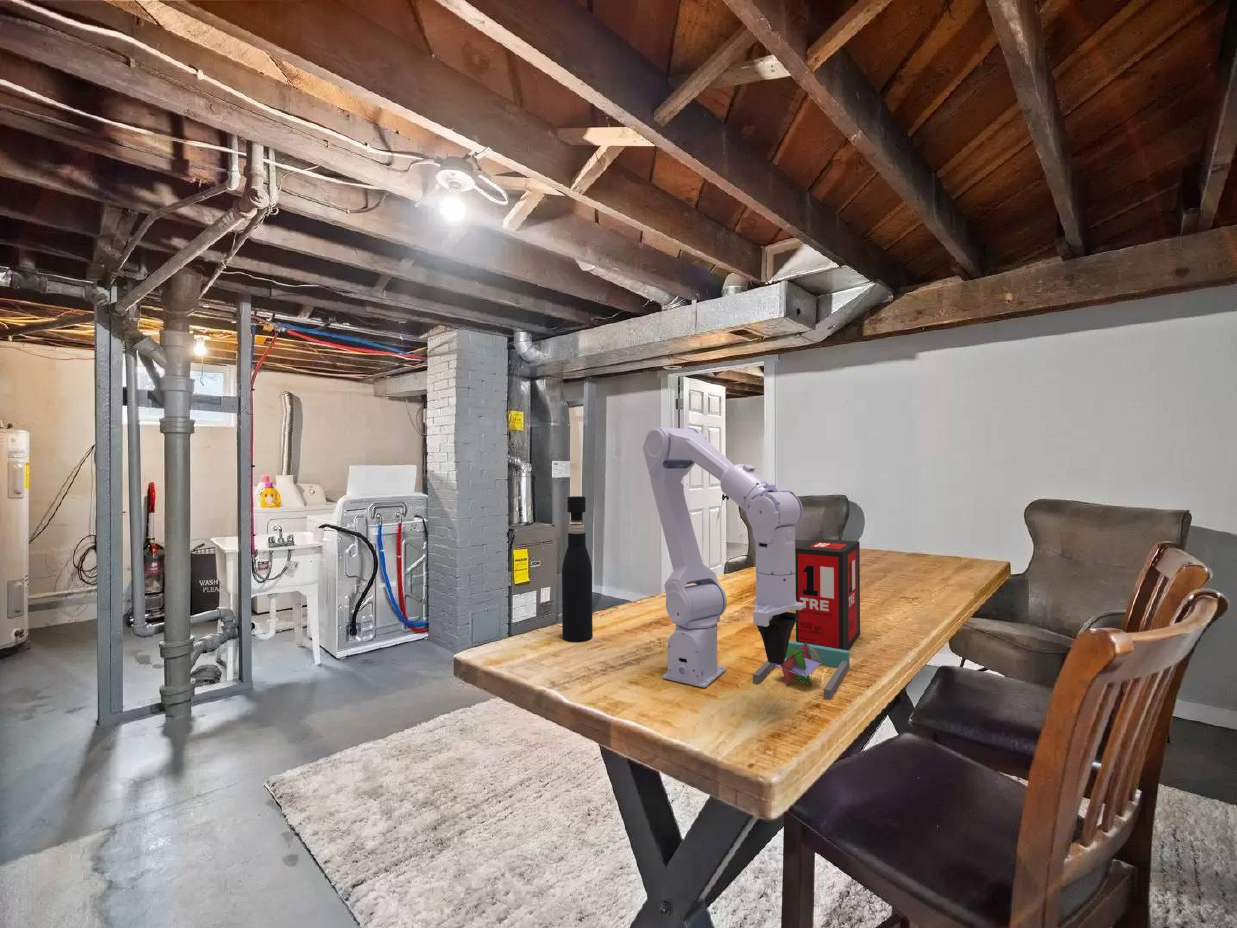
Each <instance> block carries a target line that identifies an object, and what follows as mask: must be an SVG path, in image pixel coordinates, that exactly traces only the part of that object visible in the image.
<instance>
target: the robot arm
mask: <svg viewBox="0 0 1237 928" xmlns="http://www.w3.org/2000/svg"><path fill="white" fill-rule="evenodd" d="M642 450H643V454H644V459H645V463H646V465H647V467H646V468H647V470H648V475H649V478H650V484H651V489H652V491H653V497H654V499H655V503H656V507H657V511H658V516H659V521H660V522H661V526H662V527H661V528H662V531H663V534H664V539H665V543H666V546H667V550H668V555H669V558H670V562H671V567H672V570H673V572H672V573H671V574H670V576H669V577H668V578H667V579H666V581H665V582H664V589H665V610H666V612H667V614H668V617H669V618H670V619H671V621H672V624H674V625H675V629H674V632H673V633H672V634H671V635H670V636H669V638H668V640H667V645H666V646H667V649H666V650H667V655H666V656H667V672H665V673H664V674H662V678H663V679H665V680H670V681H674V682H678V683H681V684H687V685H690V686H696V687H700V688H706V687H708V686H709V685H710V684H711V683H712V682H714V681H715V680H716V679H717V678H719V677H720V676H721V675H722V674H723V673H724V672H725V671H726V670H727V667H726V666H721V665H718V623H720V622H721V616H723V614H724V613H725V611H726V609H727V604H728V599H727V595H726V592H725V590H724V588H723V586H722V585H721V584H720V582H719V580H718V577H717V573H716V572H715V571H714V570H712V569H710V568H709V567H708V566H707V565H705V564H704V562H703V559H702V556H701V551H700V548H699V545H698V540H697V537H696V534H695V531H694V527H693V522H692V519H691V515H690V511H689V508H688V504H687V500H686V497H685V494H684V490H683V487H682V480H683V478H684V477H686V475H687V476H688V474H689V472H690V471H691V470H692V468H693V467H694V466H695V465H697V466H698V467H700V468H702V469H703V470H705V471H706V473H707V472H708V473H709V474H710V475H711V476H713V477H714V478H716V479H717V480H718V481H719V482H720V490H721V492H722V493H723V494H725V496H727V497H728V498H729V499H730V500H732V501H733V502H734V504H736V505H737V506H739V508H741V509H742V510H743V511H745V513H746V519H747V520H748V523H749V525H750V527H751V528H752V529H751V530H752V538H753V539H754V542H755V599H754V610H753V612H752V615H753V617H752V621H753V622H752V623H753V626H756V627H757V629H758V632H759V634H760V636H761V638H762V642H763V646H764V651H765V654H766V659H767V660H768V662H769V663H774V664H780V665H782V664H783V663H784V661H785V658H786V654H787V648H788V643H789V641H790V638H791V636H792V631H793V629H794V626H796V621H797V619H798V614H797V613H796V612H793V611H794V610H795V611H796V610H802V609H803V608H804V603H801V602H797V601H796V583H795V548H796V527H797V526H798V525H799V524H800V523H801V521H802V519H803V514H804V508H803V503H802V502H801V499H800V498H799V497H798V496H797V495H796V494H795V492H794V491H792V490H789V489H784V490H783V489H782V490H779V489H778V488H777V487H776V486H777V485H776V484H775V483H774V482H772V481H768V480H766V479H765V478H764V477H762V476H761V475H759V474H758V473H757V472H755V470H756V467H755V466H753V464H743V463H738V464H733V462H731V460H729V459H728V458H727V457H726V456H725V455H724V454H723V453H721V451H720V450H718V449H717V448H716V447H715V446H714V445H713V444H712V443H710V442H709V440H708V439H707V435H706V434H704V433H702V432H701V431H699V430H698V429H697V428H694V427H688V428H679V427H676V428H675V427H661V426H654V427H652V428H650V430H648V432H647V435H646V437H645V440H644V443H643V446H642ZM690 584H692V585H690ZM686 585H687V586H686Z"/></svg>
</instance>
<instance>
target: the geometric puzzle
mask: <svg viewBox="0 0 1237 928" xmlns="http://www.w3.org/2000/svg"><path fill="white" fill-rule="evenodd" d="M802 645H803V644H802ZM807 645H808V644H807V643H804V645H803V646H802V647H801V648H800V649H796V648H797V647H796V648H794V647H791V646H788V648H787V654H786V658H785V661H784V663H783V664H782V665H780V664H773V665H774V667H775V666H776V667H775V669H776V671H777V672H778V674H779V676H780V677H782V676H781V674H780V673H779V671H778V670H777V669H779V670H780V671H782V673H783V674H782V675H783V677H784V680H785V681H784V682H785V684H786V687H790V686H792V685H794V684H796V683H798V682H802V681H803V682H802V683H804V682H805V684H806V685H802V684H801V687H802V686H808V685H809V684H810V685H809V686H811V685H812V686H813V684H814V682H812V680H811V678H810V677H811V676H810V674H813V672H814V671H815V670H816V669H817V668H818V667H820V666H821V665H820V664H822V663H821V662H820V659H819V656H818V653H817V651H816V650H814V649H813V648H812V647H811V646H809V645H808V647H809V649H810V651H811V656H810V655H809V651H808V648H807ZM800 646H801V645H800ZM798 647H799V646H798ZM810 657H811V658H810ZM811 659H812V660H811ZM819 670H820V668H818V671H819ZM816 677H817V675H815V677H814V678H816ZM794 680H797V681H794ZM800 680H801V681H800ZM793 681H794V682H793ZM807 683H808V684H807Z"/></svg>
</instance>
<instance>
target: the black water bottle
mask: <svg viewBox="0 0 1237 928" xmlns="http://www.w3.org/2000/svg"><path fill="white" fill-rule="evenodd" d="M586 498H587V497H586V496H579V495H577V496H576V495H575V496H567V502H566V504H567V507H566V508H567V509H566V510H567V513H569V514H570V524H569V526H568V528H569V530H568V531H569V532H567V547H566V548H567V549H566V551H565V554H564V557H563V561H562V567H561V611H562V612H561V614H562V615H561V620H562V621H561V624H562V625H561V626H562V627H561V629H562V631H561V632H562V640H564V641H565V642H570V643H583V642H588V641H590V640H592V639H593V566H592V561H591V557H590V555H589V551H588V548H587V546H586V544H587V541H586V539H587V537H586V532H585V524H584V523H583V522H584V520H583V513H586V509H587V508H586Z"/></svg>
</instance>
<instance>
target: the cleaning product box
mask: <svg viewBox="0 0 1237 928" xmlns="http://www.w3.org/2000/svg"><path fill="white" fill-rule="evenodd" d="M860 543H861V542H860V541H856V540H844V539H843V540H842V539H828V538H815V539H813V540H810V541H808V542H807V543H804V544H802V545H800V546H798V547H795V592H796V601H797V602H801V603H804V608H803V609H802V610H795V613H797V614H798V619H797V621H796V623H795V642H800V643H807V644H812V645H818V646H824V647H830V648H836V649H842V650H848V651H850V650H851V648H852V647H853V645H854V644H855V643H856V642H857V640H858V638H859V637H860V636H861V573H860V571H861V569H860V567H861V565H860V559H861V558H860V553H861V551H860V550H861V549H860Z"/></svg>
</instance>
